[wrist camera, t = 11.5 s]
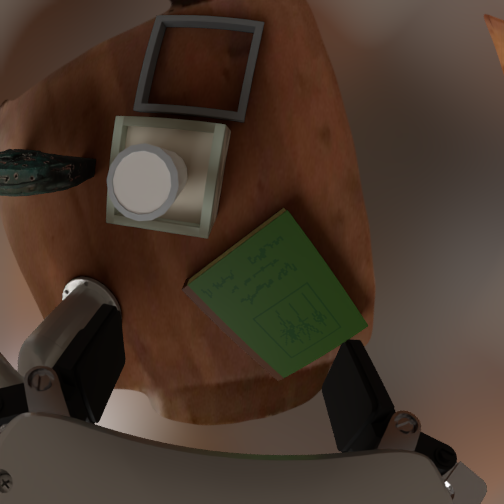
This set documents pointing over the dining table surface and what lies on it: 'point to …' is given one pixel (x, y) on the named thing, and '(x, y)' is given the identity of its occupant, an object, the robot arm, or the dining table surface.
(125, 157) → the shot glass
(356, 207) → the dining table surface
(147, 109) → the dark grey square frame
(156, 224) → the stand
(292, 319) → the hardcover book
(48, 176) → the ceramic cat
